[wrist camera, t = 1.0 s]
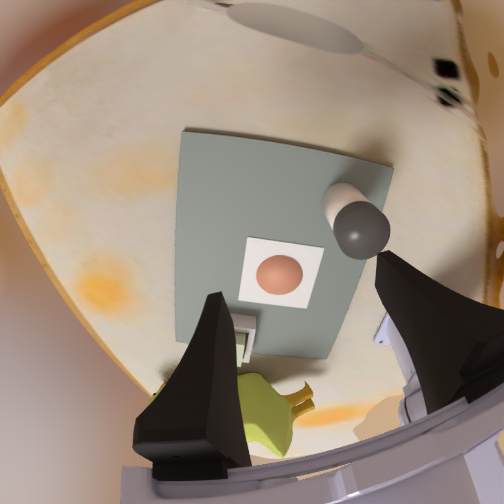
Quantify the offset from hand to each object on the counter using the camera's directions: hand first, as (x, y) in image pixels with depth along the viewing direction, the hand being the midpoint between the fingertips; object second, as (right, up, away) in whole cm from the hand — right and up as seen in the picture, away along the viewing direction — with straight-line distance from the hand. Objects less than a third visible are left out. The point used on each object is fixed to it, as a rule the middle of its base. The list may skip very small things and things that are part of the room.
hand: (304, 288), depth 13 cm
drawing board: (-1, 0, +15) cm, 15 cm away
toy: (-5, -15, +24) cm, 29 cm away
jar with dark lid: (+5, +6, +12) cm, 14 cm away
